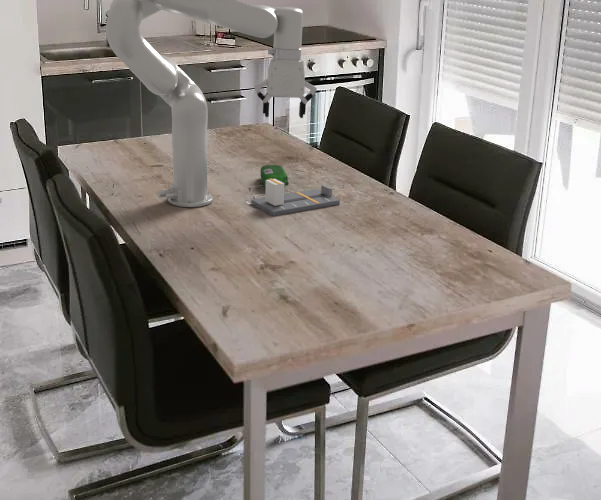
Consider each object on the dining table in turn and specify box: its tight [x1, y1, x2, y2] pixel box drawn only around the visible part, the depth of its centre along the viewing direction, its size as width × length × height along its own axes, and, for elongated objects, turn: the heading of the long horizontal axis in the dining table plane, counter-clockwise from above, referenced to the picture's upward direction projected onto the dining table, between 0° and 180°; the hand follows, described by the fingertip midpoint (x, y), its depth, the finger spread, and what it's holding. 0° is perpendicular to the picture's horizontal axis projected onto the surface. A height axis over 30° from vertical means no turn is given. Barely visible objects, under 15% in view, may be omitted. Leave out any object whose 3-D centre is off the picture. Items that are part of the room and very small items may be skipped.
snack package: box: [260, 164, 289, 188], centre depth 269 cm, size 7×16×5 cm, turn 9°
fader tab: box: [264, 179, 285, 206], centre depth 249 cm, size 3×5×6 cm, turn 33°
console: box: [250, 184, 341, 217], centre depth 253 cm, size 22×12×4 cm, turn 123°
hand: (283, 116), depth 250 cm, fingers open, 9 cm apart
